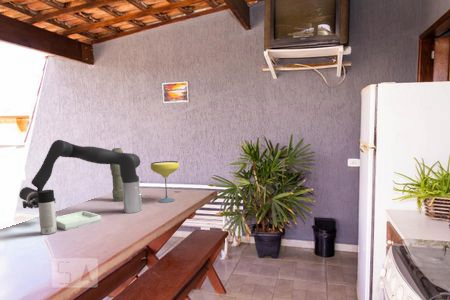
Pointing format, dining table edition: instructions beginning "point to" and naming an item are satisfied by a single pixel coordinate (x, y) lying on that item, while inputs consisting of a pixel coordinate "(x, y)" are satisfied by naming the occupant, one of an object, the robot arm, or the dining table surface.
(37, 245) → the dining table surface
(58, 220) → the sage tray
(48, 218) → the spray can
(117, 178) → the olive green statue
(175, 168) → the cocktail glass
